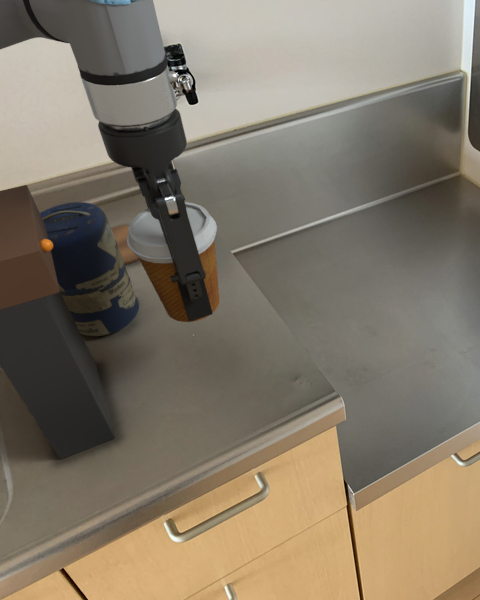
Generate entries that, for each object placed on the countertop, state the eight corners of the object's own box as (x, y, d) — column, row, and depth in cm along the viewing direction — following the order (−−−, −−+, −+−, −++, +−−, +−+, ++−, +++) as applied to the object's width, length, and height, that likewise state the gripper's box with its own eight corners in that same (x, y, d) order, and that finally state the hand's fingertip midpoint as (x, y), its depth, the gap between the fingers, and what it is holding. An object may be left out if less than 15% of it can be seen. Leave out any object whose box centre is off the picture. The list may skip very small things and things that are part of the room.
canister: (132, 340, 84) (88, 232, 72) (61, 343, 84) (5, 235, 72) (148, 294, 91) (111, 190, 79) (83, 297, 91) (36, 192, 79)
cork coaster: (70, 255, 99) (69, 253, 98) (121, 221, 106) (120, 218, 106) (122, 274, 95) (121, 271, 95) (170, 237, 102) (170, 234, 102)
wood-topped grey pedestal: (115, 360, 81) (36, 182, 63) (136, 430, 73) (50, 247, 55) (47, 384, 78) (-57, 203, 60) (60, 459, 70) (-57, 275, 52)
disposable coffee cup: (227, 330, 71) (207, 247, 63) (144, 334, 71) (113, 250, 63) (237, 278, 78) (220, 197, 70) (161, 281, 78) (135, 200, 70)
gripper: (208, 151, 53) (249, 337, 68) (153, 69, 66) (197, 239, 82) (117, 172, 50) (181, 361, 65) (79, 82, 64) (139, 255, 79)
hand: (190, 293), depth 73 cm, fingers closed on disposable coffee cup, 8 cm apart
